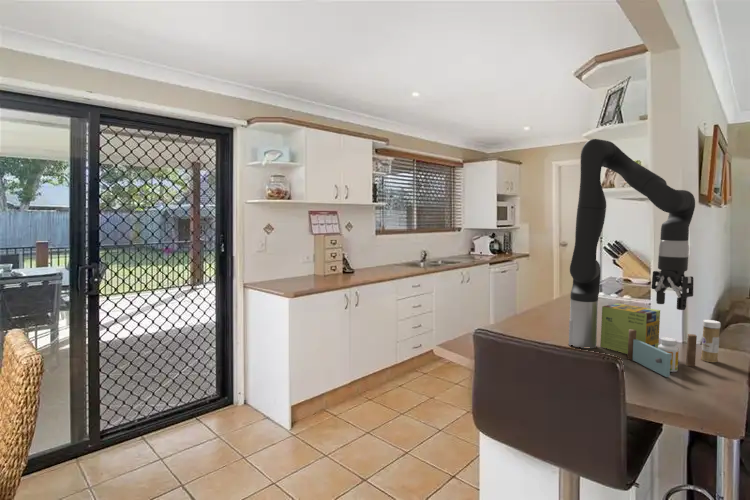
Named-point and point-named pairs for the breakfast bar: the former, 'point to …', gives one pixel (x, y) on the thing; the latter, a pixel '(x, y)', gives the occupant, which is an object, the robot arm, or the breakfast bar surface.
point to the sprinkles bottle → (710, 340)
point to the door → (651, 357)
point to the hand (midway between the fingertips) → (670, 306)
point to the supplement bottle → (670, 347)
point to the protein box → (628, 326)
